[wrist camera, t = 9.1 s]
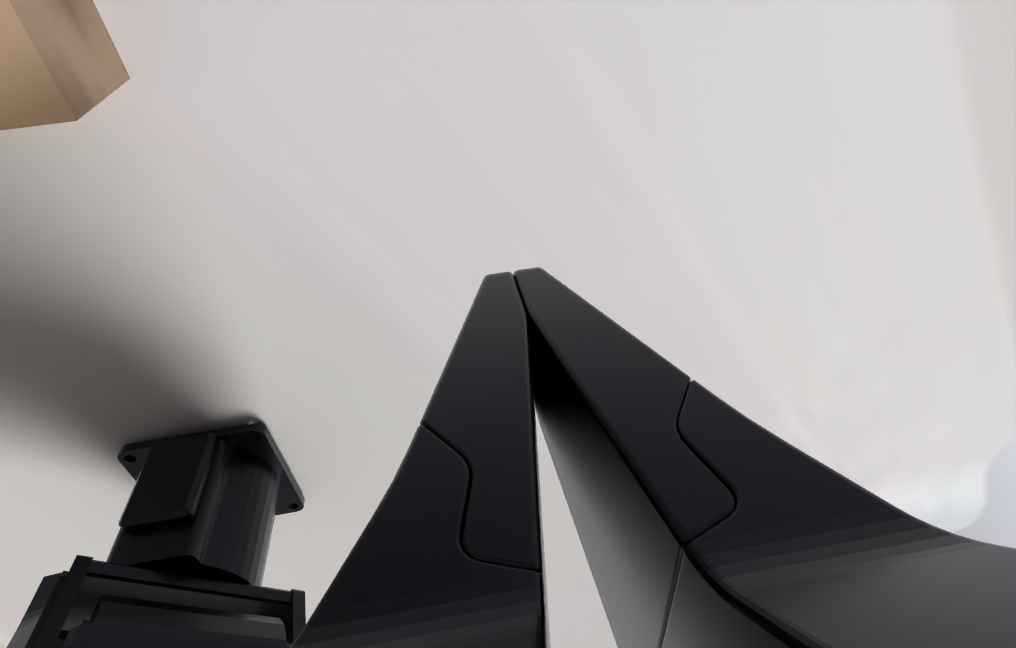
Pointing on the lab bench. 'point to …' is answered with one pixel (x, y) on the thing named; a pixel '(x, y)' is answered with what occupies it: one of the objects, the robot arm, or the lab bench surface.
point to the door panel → (54, 61)
